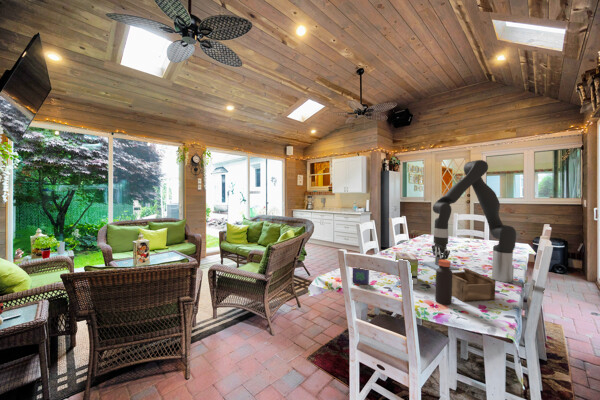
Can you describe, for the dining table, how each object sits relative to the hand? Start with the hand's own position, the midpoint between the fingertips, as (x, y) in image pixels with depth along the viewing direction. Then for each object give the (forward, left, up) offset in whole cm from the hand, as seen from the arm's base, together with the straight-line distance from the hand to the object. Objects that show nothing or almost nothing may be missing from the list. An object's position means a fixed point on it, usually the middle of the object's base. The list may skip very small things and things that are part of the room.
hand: (439, 264), depth 148 cm
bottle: (+18, +27, -10) cm, 34 cm away
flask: (+50, +1, -10) cm, 51 cm away
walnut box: (0, +19, -9) cm, 22 cm away
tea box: (+20, -3, -10) cm, 22 cm away
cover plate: (0, 0, -1) cm, 1 cm away
